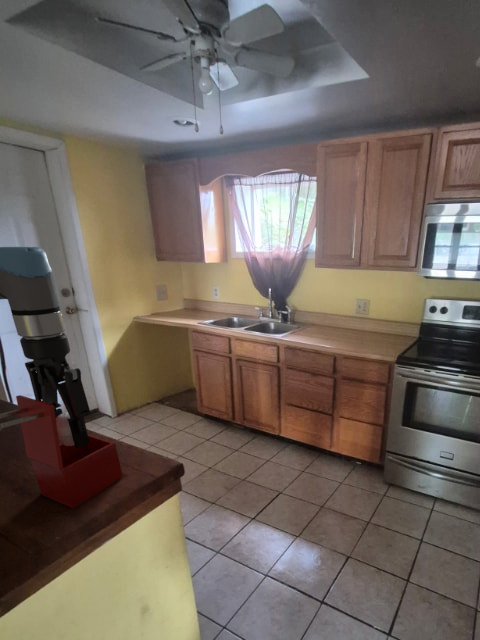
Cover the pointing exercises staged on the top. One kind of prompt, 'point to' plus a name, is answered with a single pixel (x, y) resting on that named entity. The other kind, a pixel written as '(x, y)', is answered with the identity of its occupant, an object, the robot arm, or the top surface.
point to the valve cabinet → (80, 472)
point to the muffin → (64, 429)
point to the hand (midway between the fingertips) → (71, 441)
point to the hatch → (37, 430)
